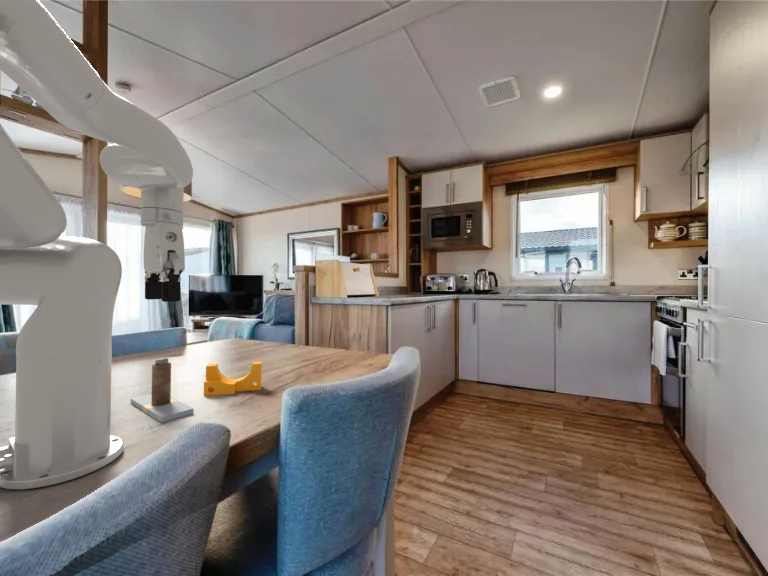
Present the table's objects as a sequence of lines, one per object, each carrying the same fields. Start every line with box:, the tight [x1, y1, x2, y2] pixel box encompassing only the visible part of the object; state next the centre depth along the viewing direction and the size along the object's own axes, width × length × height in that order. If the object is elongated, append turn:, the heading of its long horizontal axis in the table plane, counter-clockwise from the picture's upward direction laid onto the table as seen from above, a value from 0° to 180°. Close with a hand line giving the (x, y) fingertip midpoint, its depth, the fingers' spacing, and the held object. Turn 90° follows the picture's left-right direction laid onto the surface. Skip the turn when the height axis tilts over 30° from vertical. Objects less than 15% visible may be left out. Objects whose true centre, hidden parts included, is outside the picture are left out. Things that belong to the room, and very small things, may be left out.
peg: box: [151, 357, 172, 406], centre depth 66 cm, size 3×3×9 cm
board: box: [130, 393, 194, 424], centre depth 66 cm, size 6×16×1 cm, turn 54°
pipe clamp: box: [203, 361, 263, 397], centre depth 78 cm, size 12×4×6 cm, turn 106°
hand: (162, 300), depth 70 cm, fingers open, 9 cm apart
